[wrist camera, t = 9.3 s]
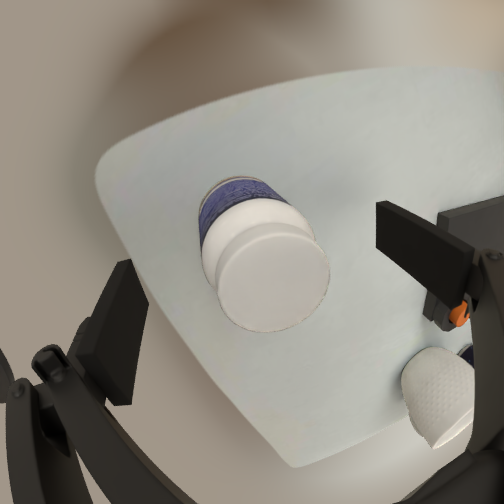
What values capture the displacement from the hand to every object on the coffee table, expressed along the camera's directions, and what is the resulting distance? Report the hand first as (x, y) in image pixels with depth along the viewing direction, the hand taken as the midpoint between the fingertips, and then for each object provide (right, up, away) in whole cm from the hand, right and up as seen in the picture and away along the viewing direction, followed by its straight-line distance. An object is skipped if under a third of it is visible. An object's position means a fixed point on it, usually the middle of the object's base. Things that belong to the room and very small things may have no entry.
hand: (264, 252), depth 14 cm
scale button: (+23, -7, +12) cm, 27 cm away
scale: (+27, 0, +13) cm, 30 cm away
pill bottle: (-2, +3, +6) cm, 7 cm away
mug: (+24, -17, +21) cm, 36 cm away
